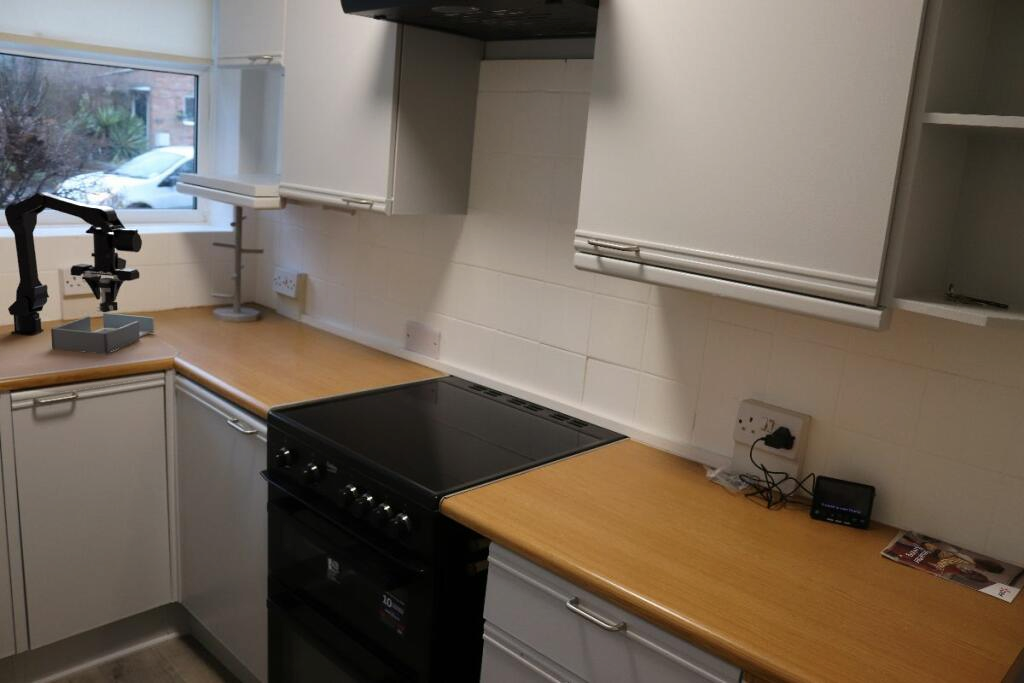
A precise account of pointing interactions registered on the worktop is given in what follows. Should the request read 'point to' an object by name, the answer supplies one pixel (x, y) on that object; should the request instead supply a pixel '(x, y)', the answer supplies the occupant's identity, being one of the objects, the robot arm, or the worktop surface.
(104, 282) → the push button
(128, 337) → the dock
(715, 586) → the worktop surface
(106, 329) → the tray
